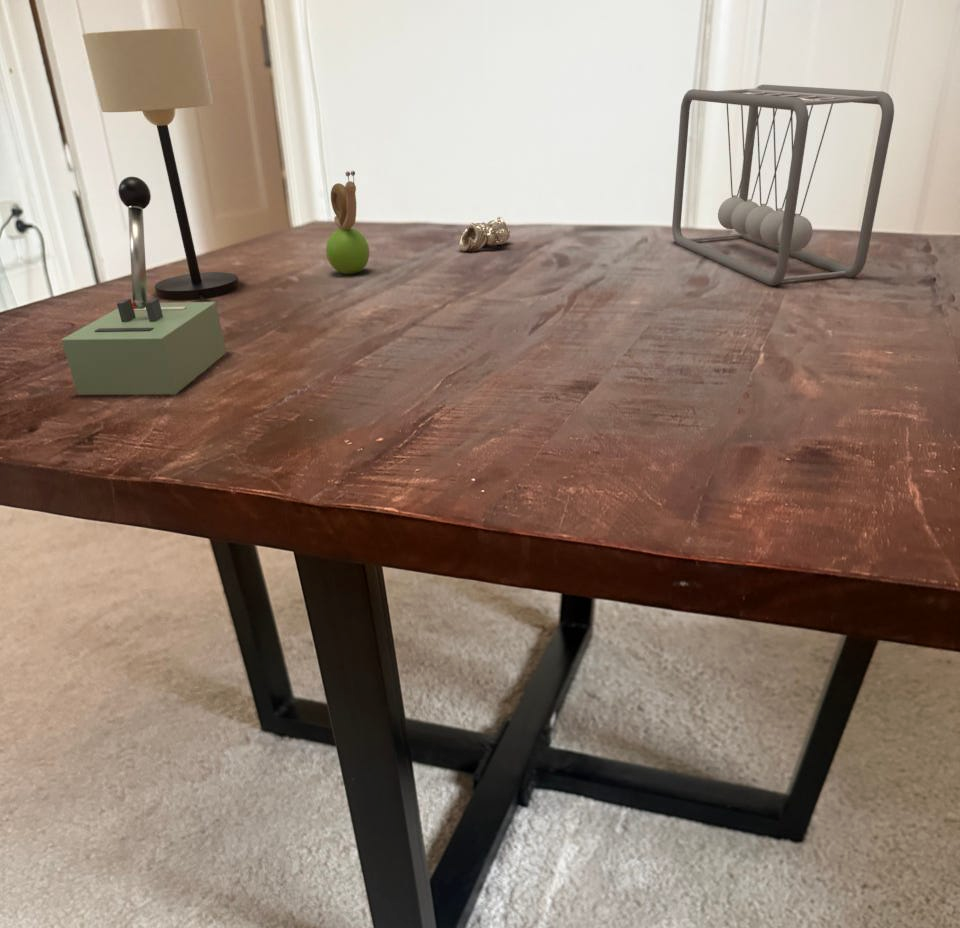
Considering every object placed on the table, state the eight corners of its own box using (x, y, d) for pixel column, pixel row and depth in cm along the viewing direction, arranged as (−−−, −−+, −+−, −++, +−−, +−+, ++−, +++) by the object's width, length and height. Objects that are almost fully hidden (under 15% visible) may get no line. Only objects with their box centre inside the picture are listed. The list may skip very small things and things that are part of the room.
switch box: (176, 397, 74) (156, 318, 71) (78, 397, 76) (54, 319, 72) (227, 355, 84) (212, 283, 80) (140, 356, 85) (121, 285, 82)
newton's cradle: (864, 281, 96) (901, 91, 86) (776, 290, 94) (803, 98, 84) (740, 235, 120) (758, 83, 110) (669, 242, 119) (680, 88, 109)
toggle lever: (146, 305, 75) (140, 171, 73) (118, 305, 76) (111, 172, 74) (161, 311, 78) (155, 182, 76) (134, 312, 78) (127, 183, 76)
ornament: (484, 256, 117) (483, 227, 115) (450, 251, 121) (448, 222, 119) (525, 246, 121) (525, 217, 119) (491, 241, 125) (490, 213, 123)
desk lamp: (143, 288, 111) (79, 35, 96) (237, 275, 114) (189, 30, 99) (164, 324, 95) (91, 29, 80) (272, 308, 99) (221, 23, 84)
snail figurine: (344, 282, 108) (330, 173, 101) (322, 274, 113) (307, 169, 106) (382, 275, 110) (371, 168, 104) (359, 267, 115) (347, 164, 108)
